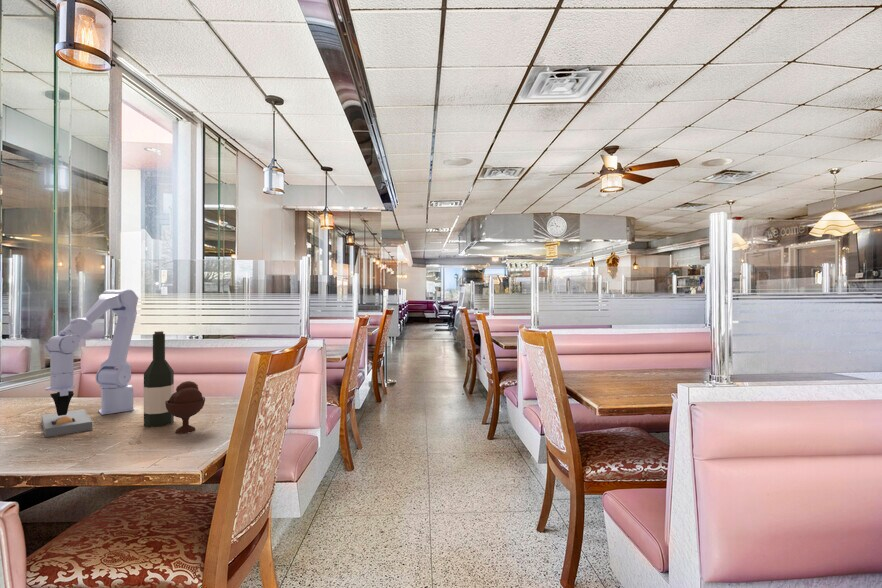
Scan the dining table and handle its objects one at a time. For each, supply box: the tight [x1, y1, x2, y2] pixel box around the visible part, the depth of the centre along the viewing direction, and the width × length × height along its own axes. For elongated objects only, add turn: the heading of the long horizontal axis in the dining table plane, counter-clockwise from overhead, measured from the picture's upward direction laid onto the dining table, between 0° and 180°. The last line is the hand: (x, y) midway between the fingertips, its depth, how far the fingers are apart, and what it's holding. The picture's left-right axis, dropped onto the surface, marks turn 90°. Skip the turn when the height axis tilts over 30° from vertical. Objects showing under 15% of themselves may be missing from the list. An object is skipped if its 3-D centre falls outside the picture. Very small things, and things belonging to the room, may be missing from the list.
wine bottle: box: [143, 330, 175, 428], centre depth 146 cm, size 8×8×30 cm
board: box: [41, 408, 93, 438], centre depth 144 cm, size 11×22×2 cm, turn 44°
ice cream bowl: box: [165, 380, 206, 434], centre depth 138 cm, size 11×11×15 cm
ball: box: [56, 416, 73, 424], centre depth 140 cm, size 4×4×4 cm
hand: (62, 415), depth 145 cm, fingers closed
